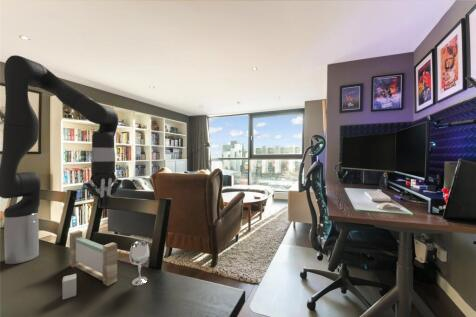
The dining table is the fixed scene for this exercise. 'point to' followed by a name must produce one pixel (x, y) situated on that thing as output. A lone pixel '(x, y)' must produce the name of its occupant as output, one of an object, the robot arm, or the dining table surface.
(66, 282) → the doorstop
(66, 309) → the dining table surface
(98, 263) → the panel
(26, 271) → the dining table surface
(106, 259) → the gate frame
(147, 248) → the wineglass
